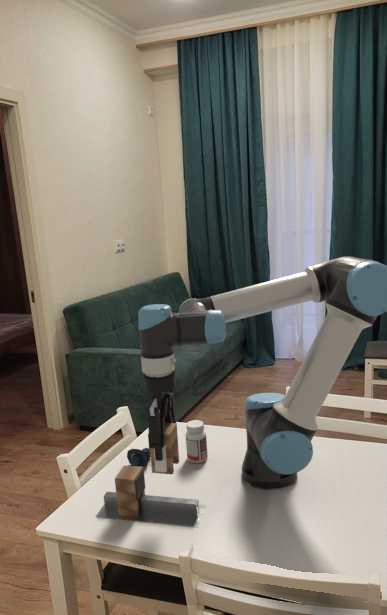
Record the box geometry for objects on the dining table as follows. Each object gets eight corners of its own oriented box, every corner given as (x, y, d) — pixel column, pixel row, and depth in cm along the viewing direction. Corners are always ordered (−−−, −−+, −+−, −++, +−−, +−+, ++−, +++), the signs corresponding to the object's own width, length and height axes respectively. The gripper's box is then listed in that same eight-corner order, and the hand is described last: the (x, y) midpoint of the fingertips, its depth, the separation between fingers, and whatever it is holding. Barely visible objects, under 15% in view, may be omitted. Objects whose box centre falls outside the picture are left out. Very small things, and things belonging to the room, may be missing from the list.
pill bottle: (204, 452, 149) (202, 417, 147) (209, 461, 143) (207, 426, 141) (185, 455, 148) (182, 420, 146) (189, 465, 142) (186, 429, 140)
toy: (165, 440, 152) (147, 451, 137) (164, 463, 151) (146, 476, 137) (140, 438, 154) (120, 448, 140) (140, 461, 154) (119, 474, 139)
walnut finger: (179, 461, 119) (176, 423, 117) (172, 474, 113) (169, 434, 111) (158, 459, 120) (155, 422, 118) (150, 472, 114) (147, 433, 112)
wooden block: (147, 502, 123) (144, 466, 121) (139, 517, 118) (135, 479, 116) (127, 500, 125) (123, 465, 123) (118, 515, 119) (114, 478, 117)
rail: (206, 507, 121) (205, 491, 120) (198, 531, 113) (197, 513, 112) (110, 499, 128) (108, 483, 127) (95, 520, 119) (93, 504, 118)
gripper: (162, 387, 102) (169, 487, 106) (185, 359, 120) (190, 445, 124) (128, 386, 104) (137, 484, 108) (156, 358, 122) (162, 444, 126)
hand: (165, 463), depth 116 cm, fingers closed on walnut finger, 6 cm apart
